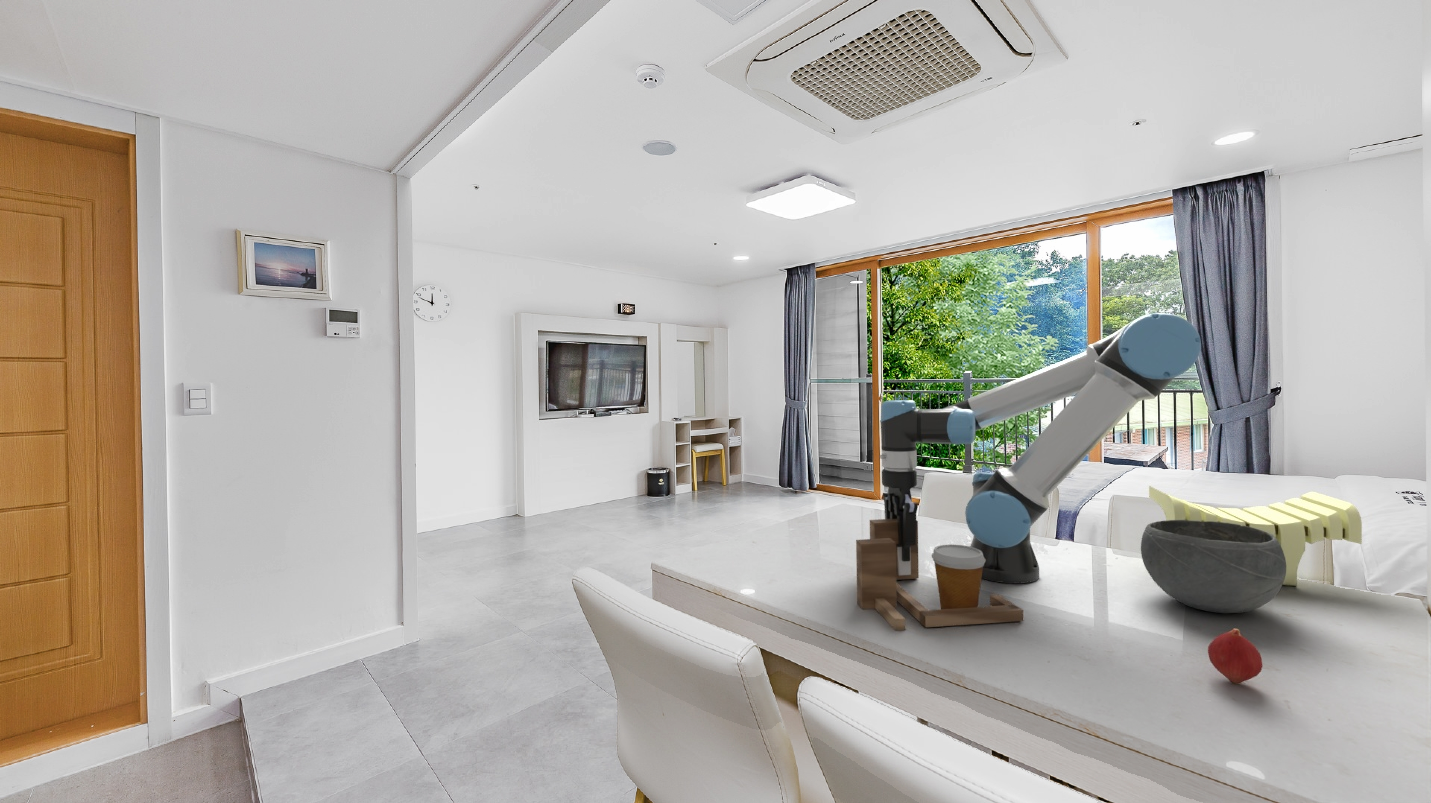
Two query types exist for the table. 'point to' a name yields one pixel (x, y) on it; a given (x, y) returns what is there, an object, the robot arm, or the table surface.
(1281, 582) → the bowl
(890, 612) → the wooden mallet
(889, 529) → the bent wooden rail
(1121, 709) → the table surface
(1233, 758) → the table surface
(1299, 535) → the slatted curved stool
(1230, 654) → the onion
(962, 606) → the disposable coffee cup
